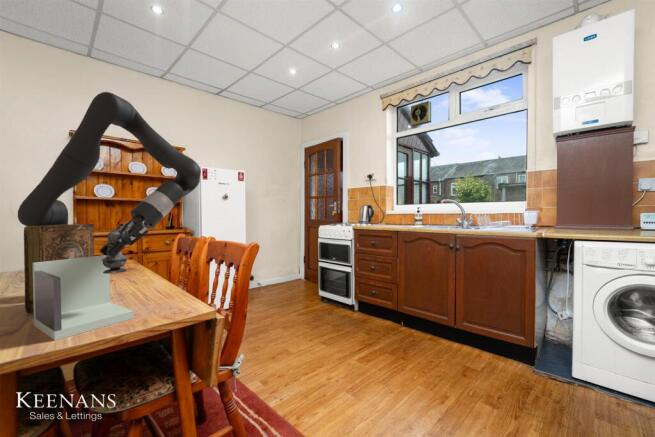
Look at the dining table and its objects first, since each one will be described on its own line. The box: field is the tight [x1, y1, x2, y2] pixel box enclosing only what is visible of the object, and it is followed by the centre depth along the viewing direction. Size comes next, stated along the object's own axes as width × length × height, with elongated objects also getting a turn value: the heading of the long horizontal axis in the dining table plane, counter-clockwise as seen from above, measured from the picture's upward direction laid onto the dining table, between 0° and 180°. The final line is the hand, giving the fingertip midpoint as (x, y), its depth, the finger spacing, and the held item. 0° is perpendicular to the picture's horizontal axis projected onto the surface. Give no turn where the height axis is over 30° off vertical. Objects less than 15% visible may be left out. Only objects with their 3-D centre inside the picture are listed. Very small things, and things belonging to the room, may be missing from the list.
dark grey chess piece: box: [102, 227, 129, 275], centre depth 79 cm, size 6×6×12 cm
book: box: [23, 223, 95, 314], centre depth 88 cm, size 16×6×25 cm, turn 168°
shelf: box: [33, 254, 135, 341], centre depth 76 cm, size 16×16×16 cm
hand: (106, 254), depth 77 cm, fingers closed on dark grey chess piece, 3 cm apart
